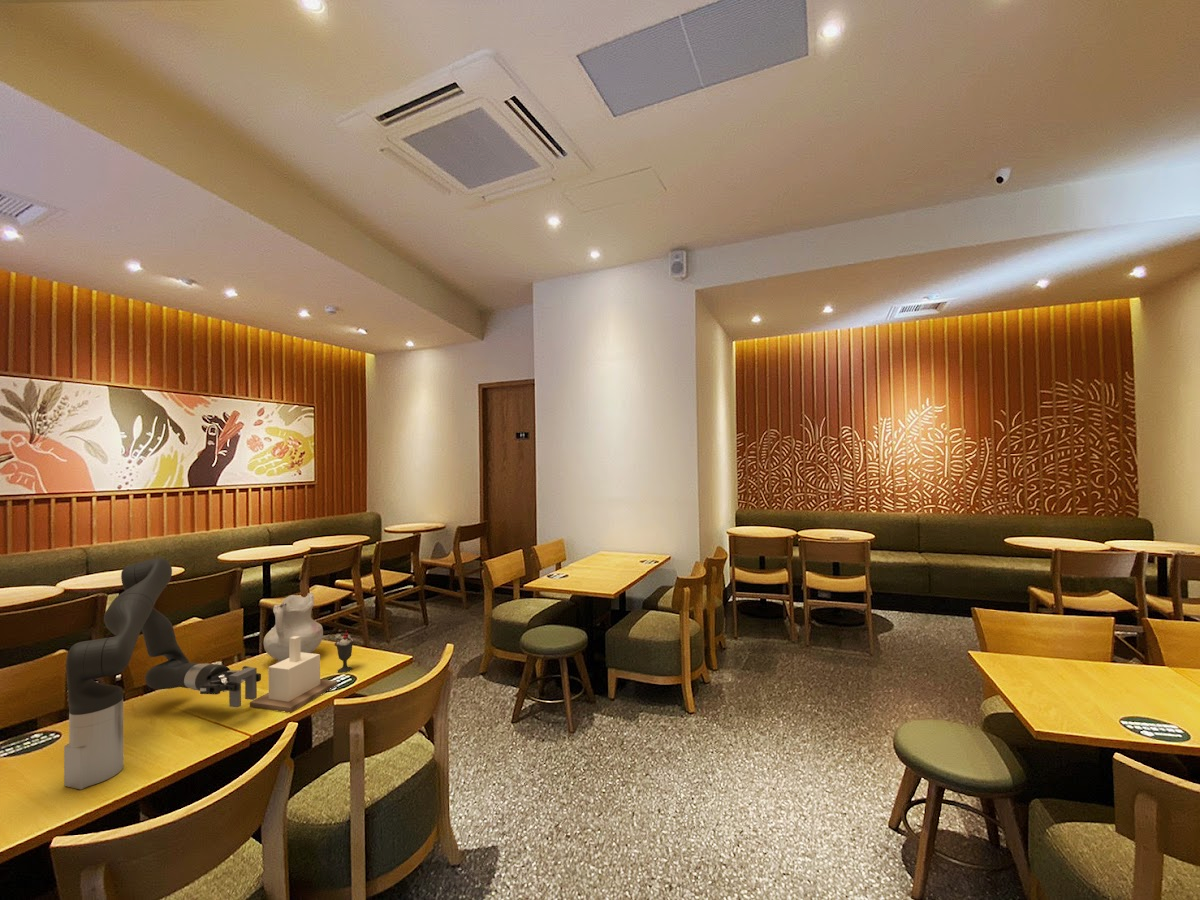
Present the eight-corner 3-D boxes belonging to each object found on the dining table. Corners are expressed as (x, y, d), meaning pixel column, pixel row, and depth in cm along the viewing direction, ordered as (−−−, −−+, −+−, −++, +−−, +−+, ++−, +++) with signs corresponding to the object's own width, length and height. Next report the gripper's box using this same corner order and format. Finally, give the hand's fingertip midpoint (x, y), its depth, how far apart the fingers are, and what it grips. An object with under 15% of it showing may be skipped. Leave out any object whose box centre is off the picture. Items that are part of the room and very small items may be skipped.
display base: (290, 712, 147) (290, 707, 147) (249, 706, 151) (249, 702, 151) (337, 685, 164) (337, 681, 164) (299, 681, 168) (299, 676, 168)
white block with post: (288, 701, 151) (288, 645, 151) (268, 698, 153) (268, 643, 153) (320, 684, 162) (319, 631, 163) (301, 681, 164) (300, 630, 165)
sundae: (346, 674, 173) (346, 632, 173) (330, 673, 174) (330, 631, 174) (359, 666, 179) (358, 626, 179) (343, 665, 180) (343, 625, 181)
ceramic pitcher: (315, 671, 178) (320, 603, 180) (252, 677, 171) (258, 606, 173) (324, 650, 198) (329, 589, 200) (268, 654, 191) (274, 591, 193)
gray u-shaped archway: (237, 707, 140) (236, 676, 140) (229, 706, 141) (229, 675, 141) (256, 697, 146) (256, 667, 146) (249, 696, 147) (248, 667, 147)
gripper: (181, 674, 141) (224, 680, 136) (230, 655, 155) (271, 660, 150) (181, 701, 140) (225, 707, 136) (230, 679, 154) (271, 684, 150)
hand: (249, 682), depth 143 cm, fingers closed on gray u-shaped archway, 6 cm apart
